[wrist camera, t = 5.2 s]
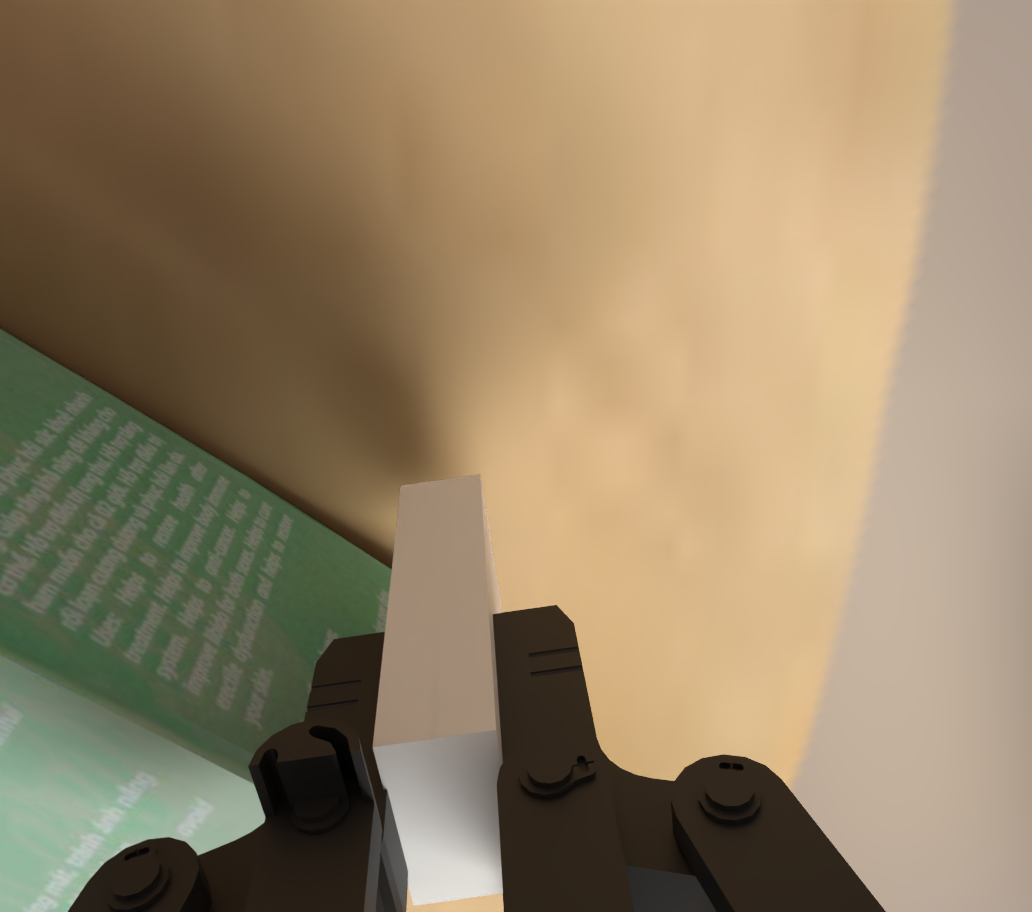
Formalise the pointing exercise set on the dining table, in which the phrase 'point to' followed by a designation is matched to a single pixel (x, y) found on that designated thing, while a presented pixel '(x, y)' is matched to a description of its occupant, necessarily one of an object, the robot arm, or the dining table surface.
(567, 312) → the dining table surface
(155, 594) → the box
